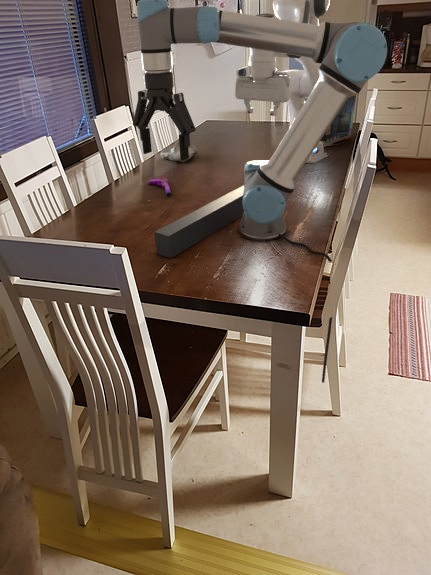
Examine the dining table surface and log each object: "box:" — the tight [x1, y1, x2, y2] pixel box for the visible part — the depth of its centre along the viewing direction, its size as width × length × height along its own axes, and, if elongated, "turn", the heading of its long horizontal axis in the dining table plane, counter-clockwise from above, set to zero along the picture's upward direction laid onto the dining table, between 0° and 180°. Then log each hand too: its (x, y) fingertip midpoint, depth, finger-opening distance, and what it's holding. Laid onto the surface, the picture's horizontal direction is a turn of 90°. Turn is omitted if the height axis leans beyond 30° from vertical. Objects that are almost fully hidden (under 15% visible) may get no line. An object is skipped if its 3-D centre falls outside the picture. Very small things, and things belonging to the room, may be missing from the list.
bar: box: [154, 185, 244, 259], centre depth 157 cm, size 61×6×7 cm, turn 144°
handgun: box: [148, 177, 172, 198], centre depth 189 cm, size 21×8×2 cm, turn 11°
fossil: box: [160, 142, 199, 163], centre depth 229 cm, size 18×11×15 cm
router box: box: [304, 95, 357, 144], centre depth 238 cm, size 36×11×27 cm, turn 134°
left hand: (165, 156), depth 126 cm, fingers open, 13 cm apart
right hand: (261, 114), depth 159 cm, fingers open, 8 cm apart
